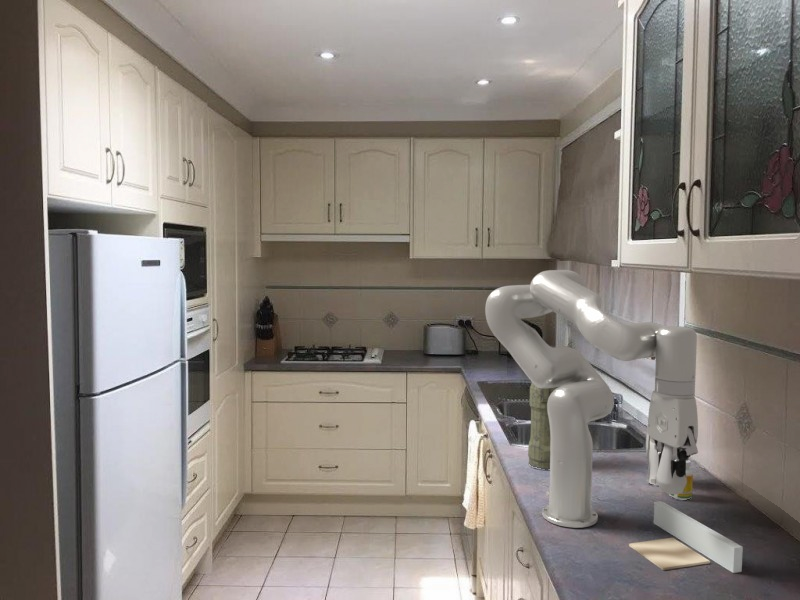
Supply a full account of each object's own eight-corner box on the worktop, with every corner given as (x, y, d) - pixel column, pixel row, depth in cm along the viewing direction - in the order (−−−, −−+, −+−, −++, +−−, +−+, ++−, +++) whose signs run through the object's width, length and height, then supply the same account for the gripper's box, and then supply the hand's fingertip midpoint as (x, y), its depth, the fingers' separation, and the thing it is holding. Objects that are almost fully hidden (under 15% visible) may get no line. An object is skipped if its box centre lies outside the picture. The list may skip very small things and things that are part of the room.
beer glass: (659, 477, 180) (661, 424, 179) (678, 486, 174) (680, 430, 173) (638, 480, 178) (640, 426, 177) (656, 489, 171) (658, 433, 170)
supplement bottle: (665, 496, 166) (666, 459, 166) (675, 491, 170) (676, 455, 169) (686, 502, 162) (687, 465, 162) (695, 497, 166) (697, 460, 165)
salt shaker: (671, 497, 130) (673, 433, 129) (649, 488, 135) (651, 426, 134) (692, 493, 132) (695, 430, 131) (670, 484, 137) (672, 423, 136)
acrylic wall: (653, 523, 150) (654, 502, 150) (661, 522, 150) (661, 501, 150) (733, 573, 127) (734, 548, 126) (741, 571, 127) (742, 546, 127)
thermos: (531, 472, 184) (533, 349, 182) (525, 458, 196) (528, 343, 193) (562, 472, 184) (565, 349, 181) (555, 459, 195) (558, 343, 193)
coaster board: (629, 545, 138) (629, 543, 138) (673, 539, 141) (673, 537, 141) (663, 570, 128) (663, 567, 128) (709, 563, 131) (710, 560, 131)
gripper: (633, 380, 139) (631, 465, 140) (687, 397, 123) (683, 492, 124) (663, 379, 141) (661, 462, 142) (720, 395, 125) (716, 488, 126)
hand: (671, 475), depth 133 cm, fingers closed on salt shaker, 3 cm apart
